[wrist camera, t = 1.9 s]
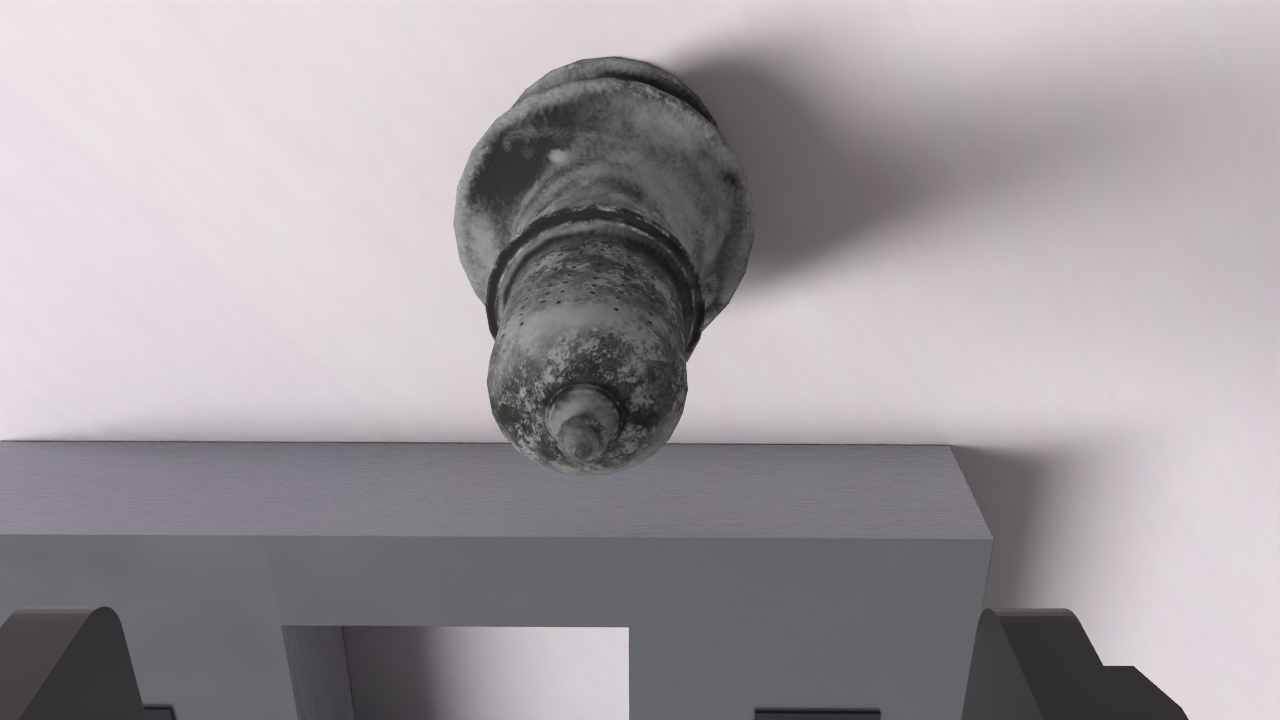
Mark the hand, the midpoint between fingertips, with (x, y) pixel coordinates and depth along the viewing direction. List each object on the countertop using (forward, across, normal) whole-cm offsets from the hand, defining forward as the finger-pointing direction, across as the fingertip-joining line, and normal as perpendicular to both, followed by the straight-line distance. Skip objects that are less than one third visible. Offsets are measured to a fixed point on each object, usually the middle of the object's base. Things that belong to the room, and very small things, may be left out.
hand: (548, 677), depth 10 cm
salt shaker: (+16, 0, 0) cm, 16 cm away
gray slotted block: (+16, +3, +14) cm, 21 cm away
